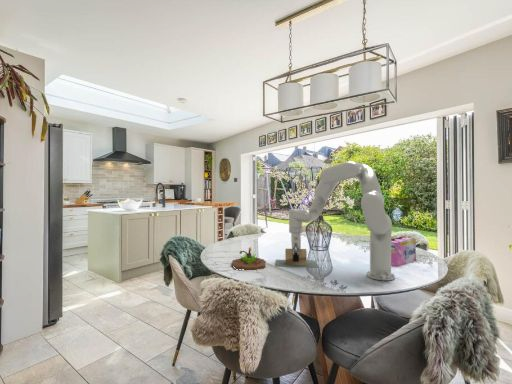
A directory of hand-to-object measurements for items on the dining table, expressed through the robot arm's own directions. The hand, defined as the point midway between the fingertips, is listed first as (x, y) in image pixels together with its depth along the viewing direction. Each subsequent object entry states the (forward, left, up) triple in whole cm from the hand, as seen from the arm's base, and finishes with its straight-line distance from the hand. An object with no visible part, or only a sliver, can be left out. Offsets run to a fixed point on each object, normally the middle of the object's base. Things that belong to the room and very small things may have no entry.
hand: (295, 259), depth 159 cm
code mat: (0, 0, -3) cm, 3 cm away
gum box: (+9, -61, -3) cm, 62 cm away
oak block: (0, 0, -3) cm, 3 cm away
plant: (-6, +26, -3) cm, 27 cm away
